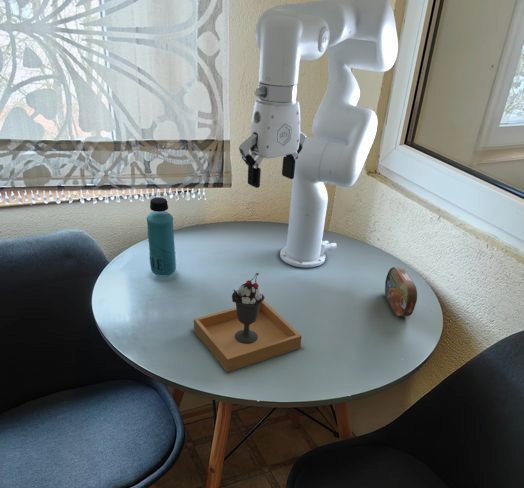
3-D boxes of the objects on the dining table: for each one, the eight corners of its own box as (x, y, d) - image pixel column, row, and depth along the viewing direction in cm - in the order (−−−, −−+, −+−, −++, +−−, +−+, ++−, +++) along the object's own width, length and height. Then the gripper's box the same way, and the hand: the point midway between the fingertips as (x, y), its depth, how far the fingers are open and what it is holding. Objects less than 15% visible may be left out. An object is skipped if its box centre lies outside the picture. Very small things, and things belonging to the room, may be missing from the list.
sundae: (265, 332, 113) (270, 271, 104) (255, 349, 108) (259, 286, 98) (237, 324, 114) (240, 264, 105) (226, 341, 109) (227, 279, 100)
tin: (382, 290, 132) (389, 260, 127) (394, 290, 132) (401, 260, 127) (399, 323, 120) (408, 292, 115) (412, 323, 120) (421, 292, 115)
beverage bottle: (179, 270, 134) (176, 195, 121) (173, 283, 128) (169, 206, 116) (154, 267, 134) (148, 192, 122) (147, 280, 129) (140, 203, 116)
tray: (262, 312, 120) (263, 300, 118) (300, 348, 110) (301, 335, 108) (193, 331, 113) (193, 318, 111) (227, 372, 102) (227, 359, 100)
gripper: (255, 101, 92) (251, 195, 102) (322, 92, 101) (312, 179, 112) (229, 93, 96) (227, 183, 106) (296, 85, 106) (288, 169, 116)
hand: (271, 181), depth 109 cm, fingers open, 9 cm apart
